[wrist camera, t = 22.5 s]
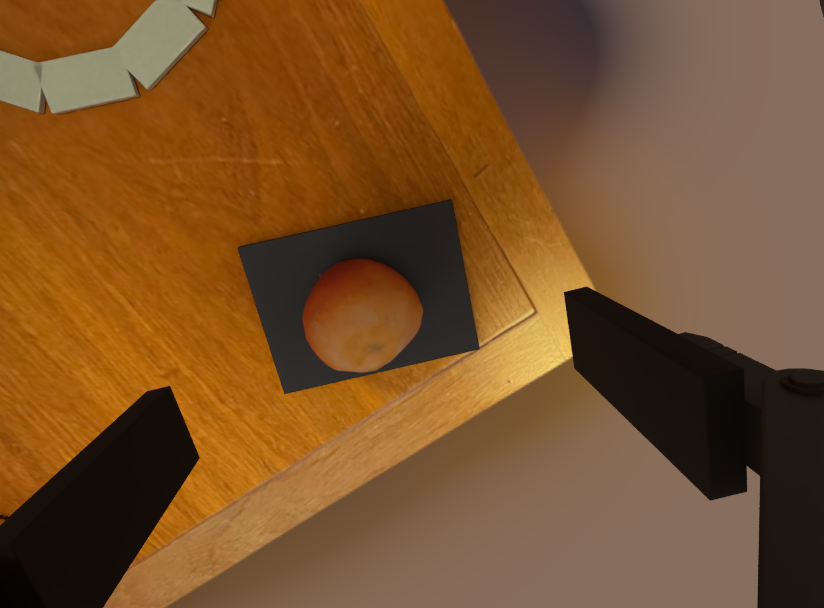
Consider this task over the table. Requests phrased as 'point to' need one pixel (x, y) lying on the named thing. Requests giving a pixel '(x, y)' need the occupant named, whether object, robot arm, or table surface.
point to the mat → (379, 241)
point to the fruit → (361, 315)
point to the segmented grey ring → (107, 62)
